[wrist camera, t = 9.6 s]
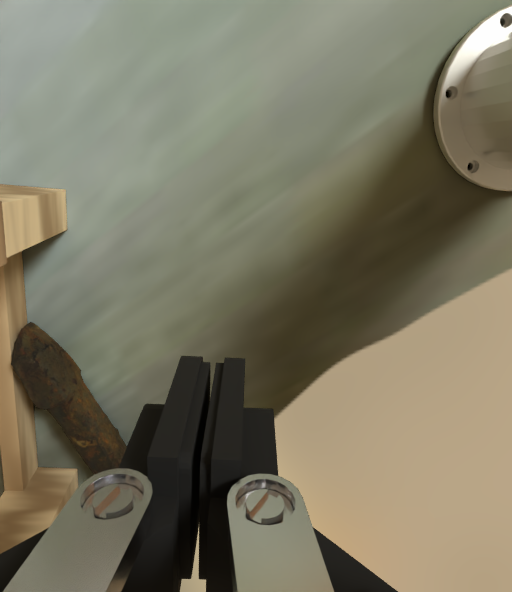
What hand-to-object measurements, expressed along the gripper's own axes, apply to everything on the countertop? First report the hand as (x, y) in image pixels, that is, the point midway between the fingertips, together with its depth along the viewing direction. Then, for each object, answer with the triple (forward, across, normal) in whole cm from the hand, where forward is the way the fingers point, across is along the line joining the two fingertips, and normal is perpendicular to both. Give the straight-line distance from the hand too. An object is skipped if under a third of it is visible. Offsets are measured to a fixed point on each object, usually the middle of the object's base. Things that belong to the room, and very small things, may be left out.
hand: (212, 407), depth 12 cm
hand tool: (+24, +13, +17) cm, 32 cm away
